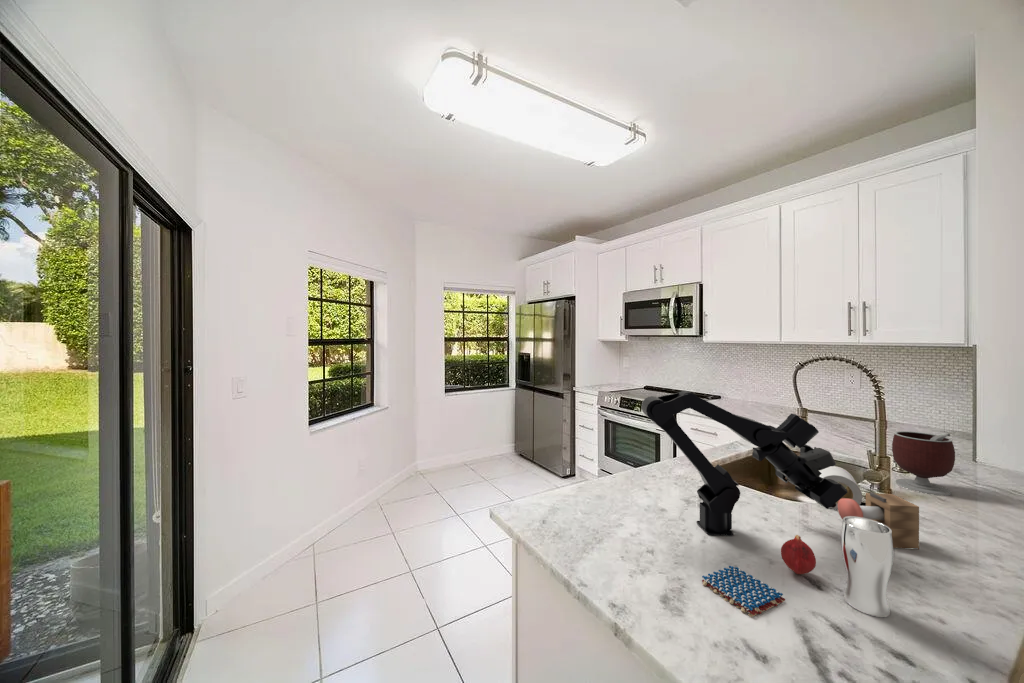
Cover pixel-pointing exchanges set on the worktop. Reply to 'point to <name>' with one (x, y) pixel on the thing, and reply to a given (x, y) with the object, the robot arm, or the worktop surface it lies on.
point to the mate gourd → (923, 459)
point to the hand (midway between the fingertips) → (834, 505)
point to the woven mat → (743, 590)
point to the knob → (859, 510)
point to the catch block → (898, 518)
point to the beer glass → (867, 564)
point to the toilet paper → (845, 478)
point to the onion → (798, 556)
